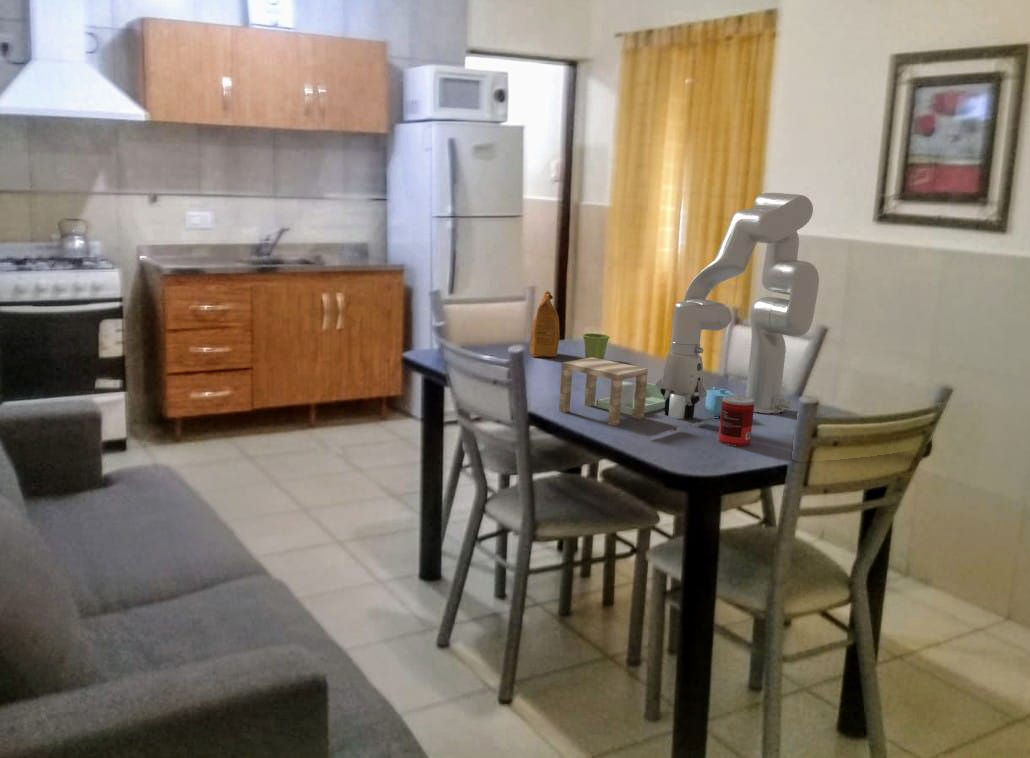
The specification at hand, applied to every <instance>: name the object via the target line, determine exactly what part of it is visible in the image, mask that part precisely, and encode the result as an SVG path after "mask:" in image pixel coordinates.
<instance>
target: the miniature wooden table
mask: <svg viewBox="0 0 1030 758" xmlns="http://www.w3.org/2000/svg"><path fill="white" fill-rule="evenodd" d="M648 371H649V370H648V368H645V367H640V366H637V365H631V364H628V363H627V364H626V363H622V362H617V361H612V360H607V359H604V360H603V359H598V358H593V357H591V358H586V357H585V358H580V359H576V360H570V361H569V360H568V361H563V362H562V363H561V372H560V390H559V403H558V404H559V405H558V412H559V413H563V414H567V413H570V411H571V399H572V398H571V395H572V383H573V382H572V380H573V372H577V373H581V374H586V378H585V379H586V380H585V389H584V390H585V393H584V394H585V395H584V406H586V407H588V408H589V407H590V408H591V407H595V406H596V395H597V390H596V389H597V379H598V378H597V377H600V378H604V379H610V395H609V397H610V405H609V410H608V422H607V425H611V426H614V427H615V426H618V425H620V417H621V413H620V407H621V394H622V382H624V381H623V380H628V379H632V378H636V379H635V400H634V412H633V416H632V418H634V419H638V420H640V419H644V418H645V413H644V409H645V397H646V385H647V383H648V382H647V381H648Z"/></svg>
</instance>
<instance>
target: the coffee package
mask: <svg viewBox="0 0 1030 758" xmlns="http://www.w3.org/2000/svg"><path fill="white" fill-rule="evenodd" d="M553 298H554V297H553V295H552V293H551V292H550V291H549V290H546V291H545V292H544V293H543V297H542V299H541V302H540V303H539V306H538V308H537V309H536V310H537V311H536V314H535V317H534V320H533V323H532V326H531V332H530V341H529V352H530V353H529V354H530V355H531V356H532V357H533V358H551V357H552V358H553V357H557V355H558V352H559V351H558V350H559V345H560V335H561V334H560V332H561V331H560V318H559V314H558V312H557V310H556V309H555V307H554V305H553V304H552V302H551V300H553Z"/></svg>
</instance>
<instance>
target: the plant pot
mask: <svg viewBox="0 0 1030 758" xmlns="http://www.w3.org/2000/svg"><path fill="white" fill-rule="evenodd" d="M581 336H582V337H583V341H584V353H585V355H584V356H585V359H586V358H591V357H593V358H598V359H603V360H605V354H606V350H607V346H608V345H607V344H608V342H609V339H610V338H611V336H610V335H608V334H602V333H589V332H588V333H582V335H581Z"/></svg>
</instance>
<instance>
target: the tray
mask: <svg viewBox="0 0 1030 758" xmlns="http://www.w3.org/2000/svg"><path fill="white" fill-rule="evenodd" d="M634 400H635V391H634ZM609 405H610V396H609V397H605V398H601V399H597V400H596V404H595V406H596V408H600V409H603V410H604V409H605V410H608V411H609ZM661 409H665V400H664V398H663V395H662V394H661V392H660V390H659V389H658V387H657V386H656V383H651V382H647V385H646V397H645V409H644V414H646V413H650V412H653V411H658V410H661ZM633 412H634V404H633V408H630V407H626V406H621V407H620V414H624V415H629V416H632V417H633Z"/></svg>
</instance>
